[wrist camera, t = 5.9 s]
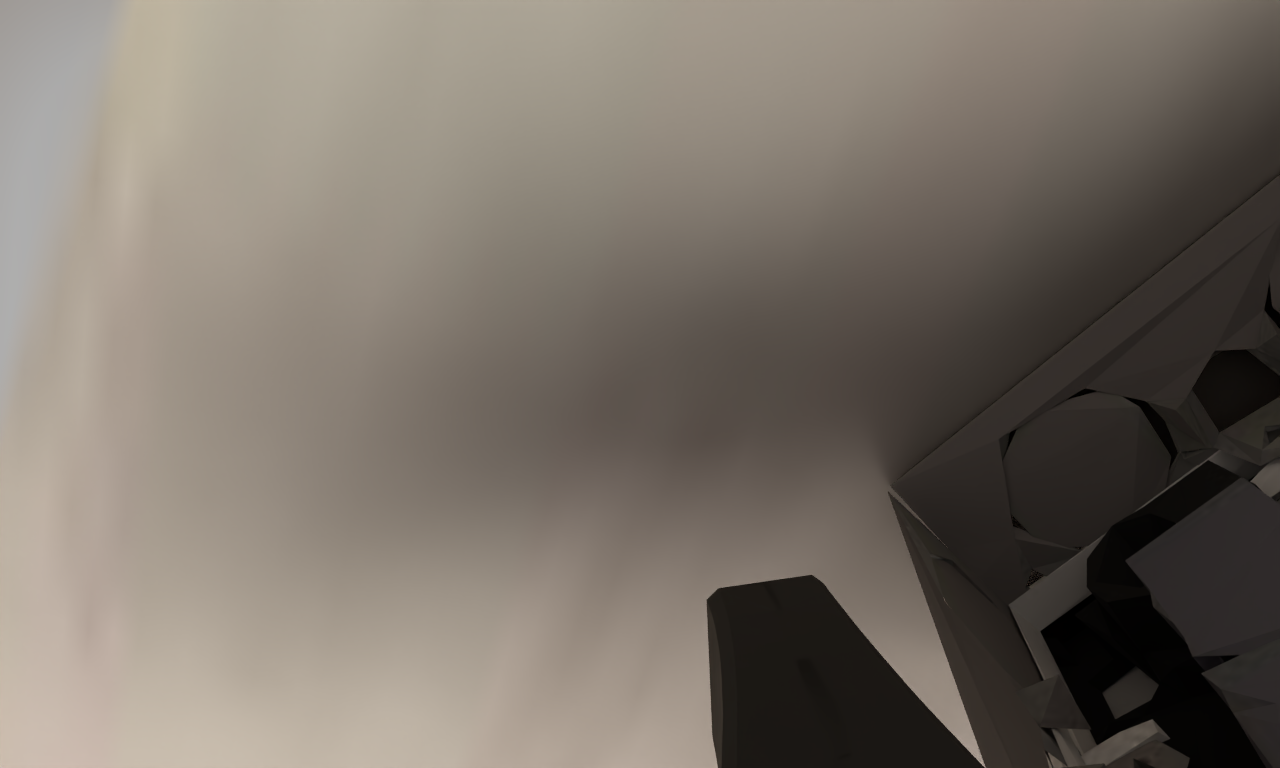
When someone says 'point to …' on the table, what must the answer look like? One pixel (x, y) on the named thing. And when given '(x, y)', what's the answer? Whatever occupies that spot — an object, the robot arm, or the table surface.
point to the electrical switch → (1120, 533)
